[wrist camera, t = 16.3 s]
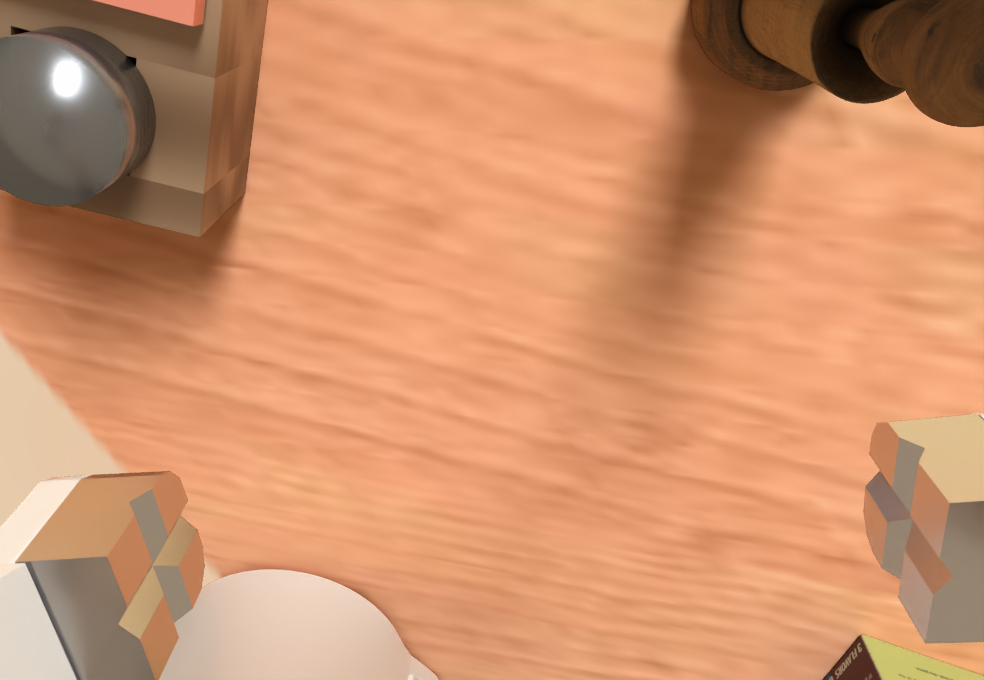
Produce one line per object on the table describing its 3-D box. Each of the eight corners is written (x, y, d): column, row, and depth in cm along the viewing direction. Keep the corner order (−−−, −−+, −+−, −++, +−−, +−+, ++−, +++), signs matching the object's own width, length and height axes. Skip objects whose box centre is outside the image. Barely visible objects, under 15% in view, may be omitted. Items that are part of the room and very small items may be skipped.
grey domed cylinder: (152, 176, 37) (63, 237, 30) (42, 83, 35) (-80, 124, 28) (229, 84, 35) (153, 125, 28) (116, -19, 33) (5, -4, 26)
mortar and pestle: (703, 100, 36) (857, 245, 19) (678, -63, 33) (832, -51, 17) (863, 58, 35) (1164, 173, 18) (851, -113, 32) (1192, -152, 16)
